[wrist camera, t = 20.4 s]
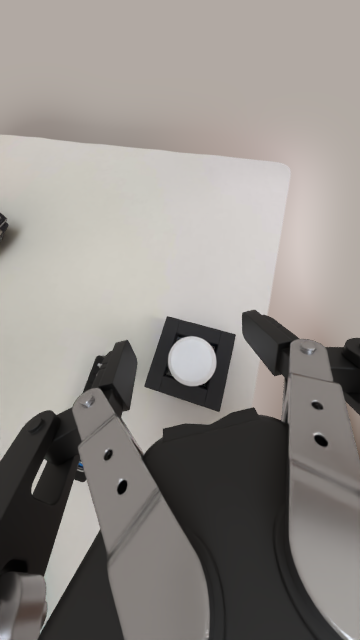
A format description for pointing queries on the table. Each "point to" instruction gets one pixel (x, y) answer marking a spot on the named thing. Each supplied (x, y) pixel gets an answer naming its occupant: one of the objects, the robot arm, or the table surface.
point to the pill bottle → (192, 361)
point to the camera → (2, 225)
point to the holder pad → (171, 386)
